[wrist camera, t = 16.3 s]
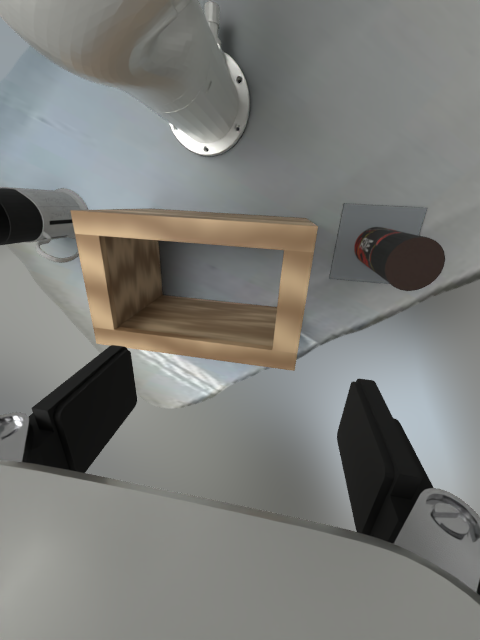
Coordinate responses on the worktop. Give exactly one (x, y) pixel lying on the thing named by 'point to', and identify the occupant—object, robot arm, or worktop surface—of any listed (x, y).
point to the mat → (361, 219)
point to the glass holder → (38, 216)
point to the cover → (189, 313)
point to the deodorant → (400, 257)
